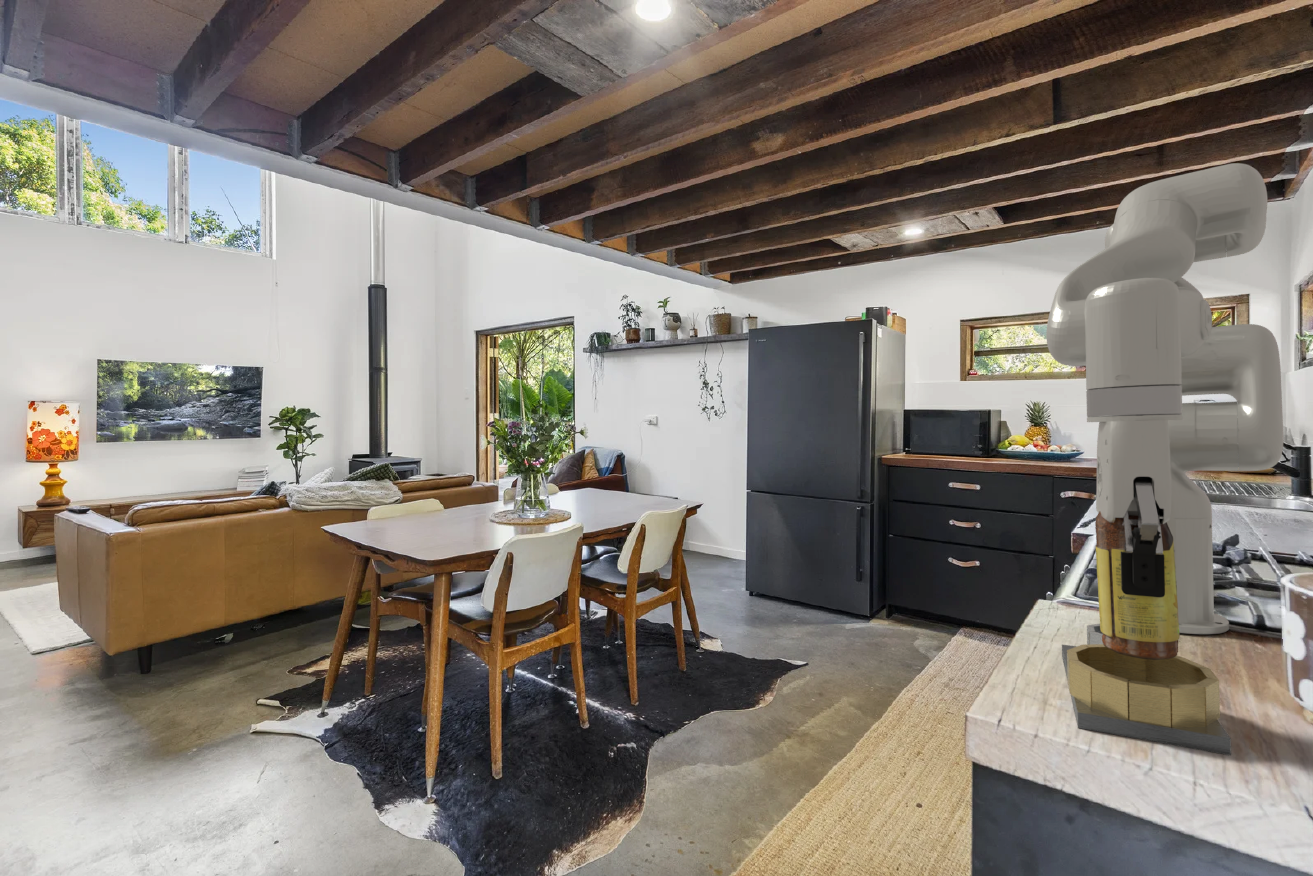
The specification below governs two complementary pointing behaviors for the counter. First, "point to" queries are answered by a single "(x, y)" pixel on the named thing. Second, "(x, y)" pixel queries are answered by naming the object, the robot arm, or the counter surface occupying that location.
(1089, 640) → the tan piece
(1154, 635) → the sauce bottle
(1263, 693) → the counter surface
